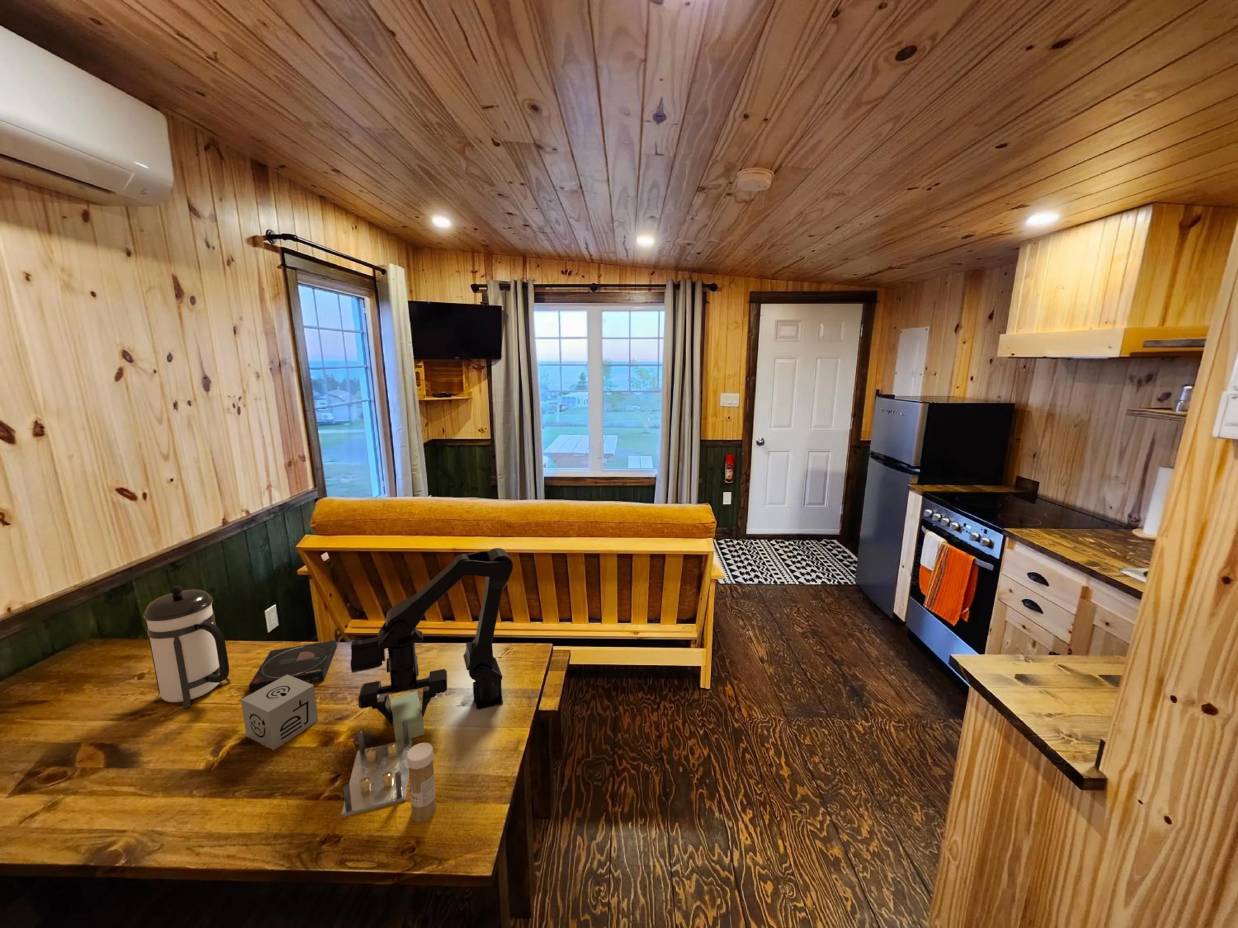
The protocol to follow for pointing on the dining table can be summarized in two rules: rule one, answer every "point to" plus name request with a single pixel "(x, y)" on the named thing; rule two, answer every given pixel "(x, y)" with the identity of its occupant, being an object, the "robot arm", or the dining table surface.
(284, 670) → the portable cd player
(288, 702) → the icon cube
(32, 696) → the dining table surface
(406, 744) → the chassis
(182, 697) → the coffee press
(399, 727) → the board
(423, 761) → the sprinkles bottle
